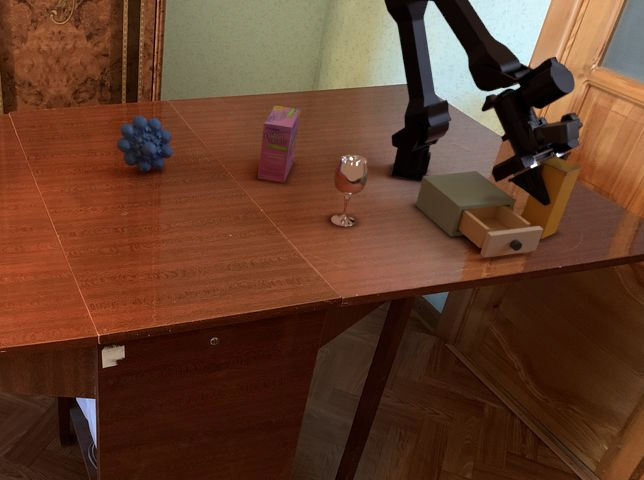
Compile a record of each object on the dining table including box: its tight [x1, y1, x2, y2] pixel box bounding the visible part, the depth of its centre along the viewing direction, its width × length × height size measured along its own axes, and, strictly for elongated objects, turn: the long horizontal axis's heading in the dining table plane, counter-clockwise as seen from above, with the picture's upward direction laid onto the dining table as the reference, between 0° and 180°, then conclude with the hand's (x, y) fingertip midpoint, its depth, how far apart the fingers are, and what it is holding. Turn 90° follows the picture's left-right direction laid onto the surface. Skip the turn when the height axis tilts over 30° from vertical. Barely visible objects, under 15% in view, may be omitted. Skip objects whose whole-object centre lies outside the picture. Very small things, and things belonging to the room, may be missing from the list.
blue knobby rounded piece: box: [116, 114, 173, 173], centre depth 151 cm, size 12×7×12 cm, turn 110°
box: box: [257, 105, 301, 184], centre depth 154 cm, size 10×6×12 cm, turn 163°
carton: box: [520, 157, 582, 240], centre depth 136 cm, size 5×5×13 cm
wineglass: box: [330, 154, 369, 227], centre depth 137 cm, size 6×6×12 cm
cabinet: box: [415, 170, 516, 238], centre depth 141 cm, size 13×12×6 cm
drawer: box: [457, 205, 543, 258], centre depth 134 cm, size 13×10×4 cm
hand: (555, 200), depth 135 cm, fingers closed on carton, 5 cm apart
